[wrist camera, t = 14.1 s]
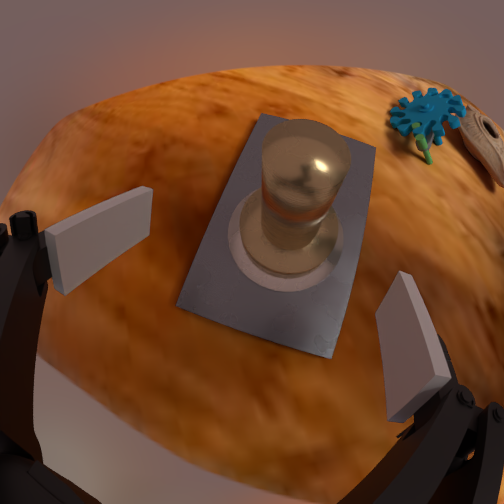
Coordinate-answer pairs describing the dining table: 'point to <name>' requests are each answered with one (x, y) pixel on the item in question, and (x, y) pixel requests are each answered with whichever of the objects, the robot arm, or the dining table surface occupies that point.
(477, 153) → the pottery oil lamp
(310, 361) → the dining table surface
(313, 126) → the metal knob
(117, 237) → the robot arm
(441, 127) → the gear
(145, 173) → the dining table surface
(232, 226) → the carrier plate
